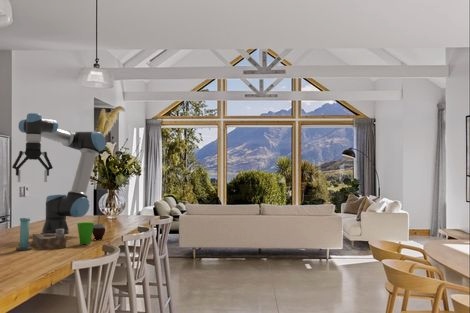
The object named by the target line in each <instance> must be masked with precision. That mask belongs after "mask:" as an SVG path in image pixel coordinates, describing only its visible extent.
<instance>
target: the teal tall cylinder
mask: <svg viewBox="0 0 470 313" xmlns="http://www.w3.org/2000/svg"><path fill="white" fill-rule="evenodd" d="M30 221H31V218H30V217H21V218H19V222H20V226H19V227H20V228H19V247H20V248H28V247H29V243H30V241H29V239H30V238H29V236H30Z"/></svg>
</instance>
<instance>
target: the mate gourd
mask: <svg viewBox="0 0 470 313" xmlns="http://www.w3.org/2000/svg"><path fill="white" fill-rule="evenodd" d="M100 218H101V213H98V217H97V220H98V221H97V224H94V227H93V232H92V236H93V237H94V238H93V239H98V240H99V239H102V238H103V237H104V235H105V233H106V227H105V225H104V224H100ZM103 239H104V238H103Z"/></svg>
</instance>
